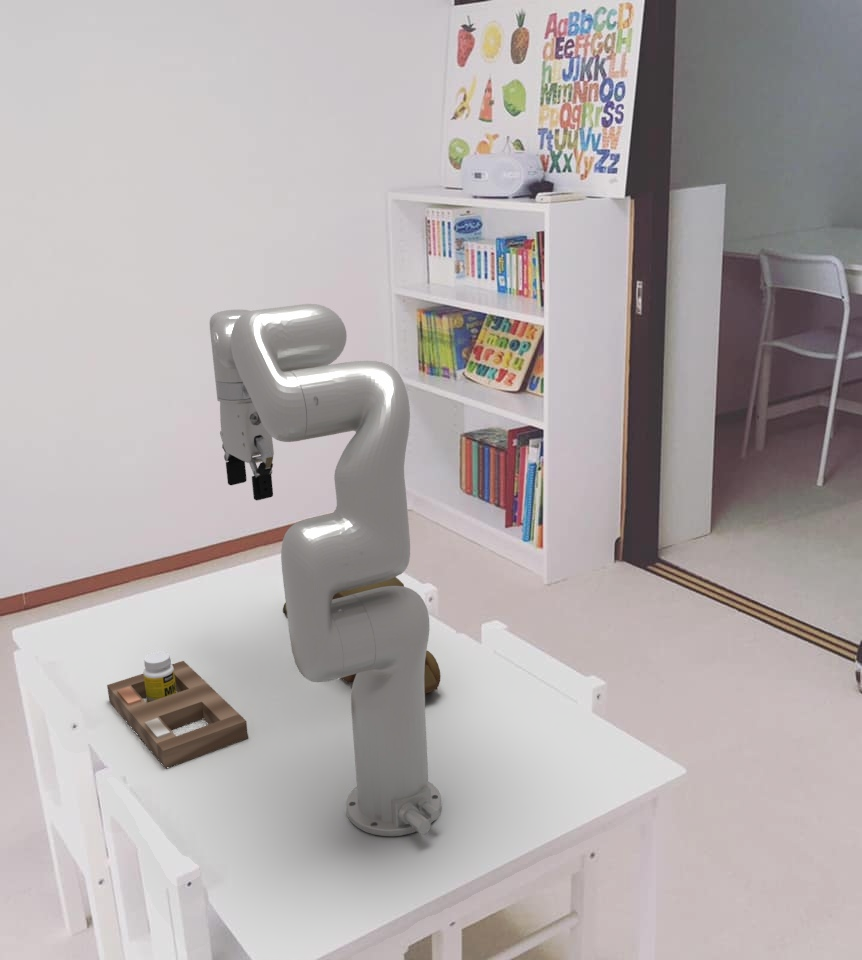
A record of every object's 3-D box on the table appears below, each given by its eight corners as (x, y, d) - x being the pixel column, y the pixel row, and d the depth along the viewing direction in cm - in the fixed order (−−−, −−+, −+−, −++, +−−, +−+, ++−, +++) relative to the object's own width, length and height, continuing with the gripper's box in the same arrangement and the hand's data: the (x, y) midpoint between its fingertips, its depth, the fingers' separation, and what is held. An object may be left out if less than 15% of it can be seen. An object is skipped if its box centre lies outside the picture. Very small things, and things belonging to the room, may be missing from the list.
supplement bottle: (170, 713, 170) (164, 665, 167) (142, 710, 171) (135, 663, 168) (182, 697, 174) (177, 650, 172) (155, 695, 175) (149, 649, 173)
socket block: (248, 738, 162) (246, 718, 161) (165, 768, 155) (162, 748, 154) (185, 676, 181) (183, 658, 180) (109, 701, 174) (106, 682, 173)
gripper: (286, 394, 167) (295, 499, 172) (238, 376, 180) (248, 473, 186) (242, 403, 163) (252, 509, 168) (196, 383, 177) (207, 482, 182)
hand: (250, 490), depth 177 cm, fingers open, 9 cm apart
